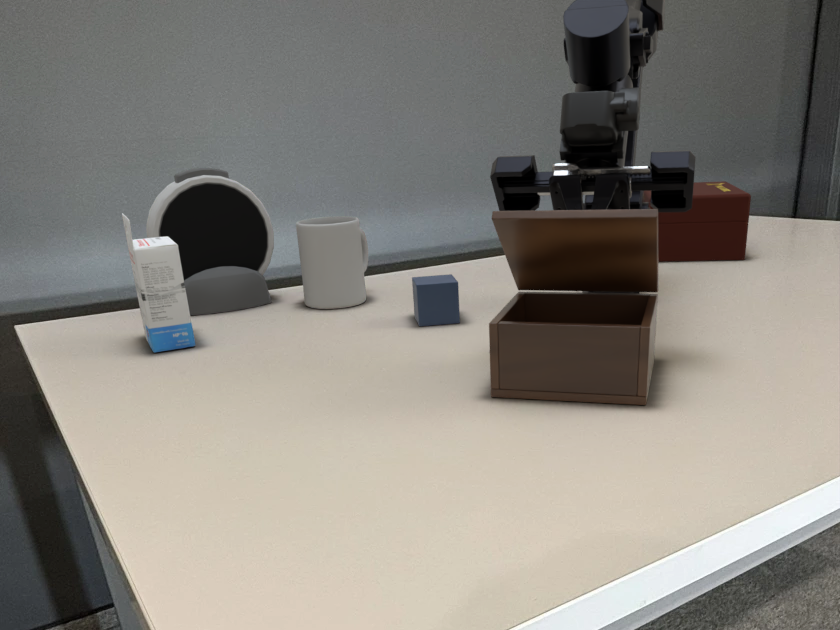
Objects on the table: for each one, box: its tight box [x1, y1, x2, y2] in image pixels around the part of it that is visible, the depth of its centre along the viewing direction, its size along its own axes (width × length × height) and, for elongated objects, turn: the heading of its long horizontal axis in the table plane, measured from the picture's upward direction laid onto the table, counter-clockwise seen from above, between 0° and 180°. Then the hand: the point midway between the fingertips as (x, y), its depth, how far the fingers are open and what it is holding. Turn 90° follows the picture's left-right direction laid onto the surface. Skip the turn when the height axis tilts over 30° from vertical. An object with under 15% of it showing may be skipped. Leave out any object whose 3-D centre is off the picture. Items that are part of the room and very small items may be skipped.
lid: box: [491, 209, 660, 293], centre depth 71 cm, size 13×14×1 cm
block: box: [411, 273, 461, 327], centre depth 97 cm, size 5×5×5 cm
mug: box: [295, 215, 369, 310], centre depth 109 cm, size 12×8×11 cm
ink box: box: [121, 212, 196, 353], centre depth 91 cm, size 8×5×15 cm, turn 26°
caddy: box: [488, 291, 659, 406], centre depth 74 cm, size 13×14×7 cm
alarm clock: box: [145, 166, 275, 316], centre depth 108 cm, size 16×10×18 cm, turn 117°
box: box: [644, 180, 752, 263], centre depth 133 cm, size 21×16×10 cm
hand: (582, 257), depth 73 cm, fingers closed, pressing on lid
